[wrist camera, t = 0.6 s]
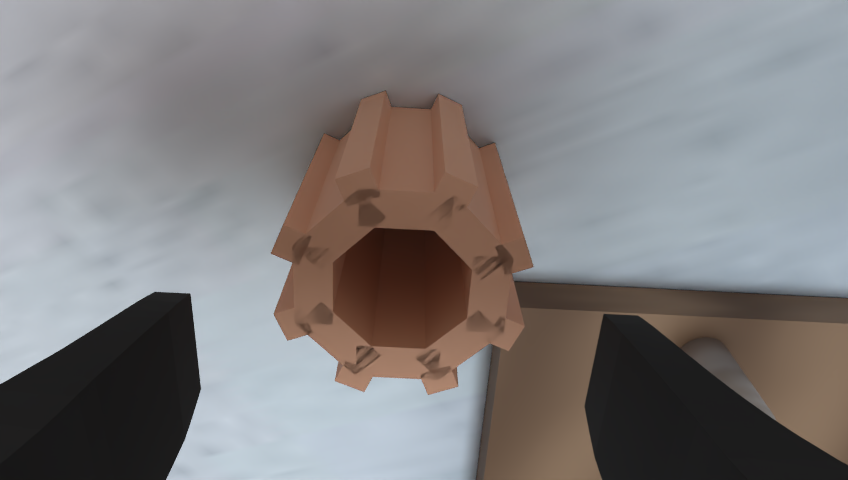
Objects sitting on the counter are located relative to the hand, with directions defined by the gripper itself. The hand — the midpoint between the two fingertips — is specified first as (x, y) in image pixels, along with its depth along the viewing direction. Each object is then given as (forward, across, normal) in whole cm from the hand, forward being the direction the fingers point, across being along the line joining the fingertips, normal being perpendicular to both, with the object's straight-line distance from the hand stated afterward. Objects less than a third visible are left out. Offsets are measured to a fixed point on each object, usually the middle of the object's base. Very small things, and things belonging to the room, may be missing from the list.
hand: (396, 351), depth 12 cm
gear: (+8, 0, 0) cm, 8 cm away
